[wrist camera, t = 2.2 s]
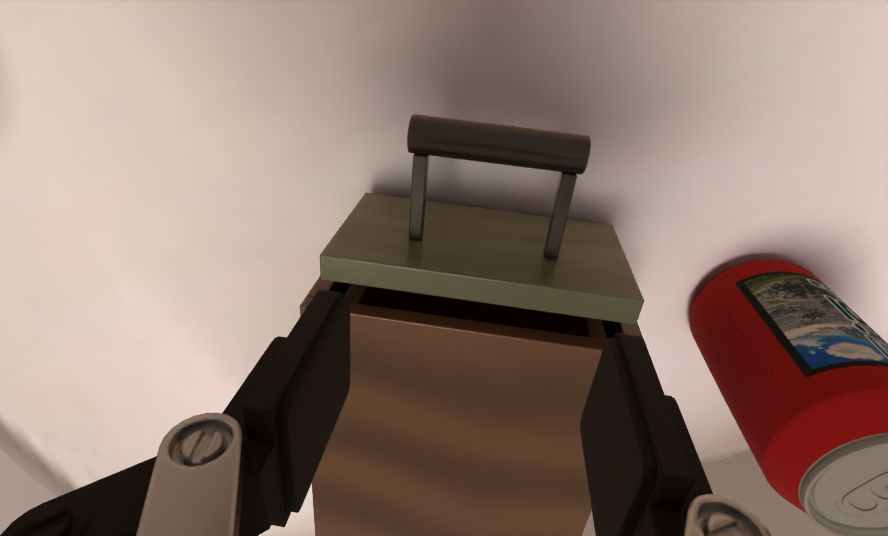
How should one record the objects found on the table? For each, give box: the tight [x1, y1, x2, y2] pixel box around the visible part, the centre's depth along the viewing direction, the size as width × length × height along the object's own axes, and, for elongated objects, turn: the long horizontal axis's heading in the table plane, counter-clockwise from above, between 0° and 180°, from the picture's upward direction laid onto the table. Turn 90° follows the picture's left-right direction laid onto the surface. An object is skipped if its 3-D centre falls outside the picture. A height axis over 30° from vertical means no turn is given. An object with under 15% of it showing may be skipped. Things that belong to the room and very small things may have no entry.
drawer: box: [320, 114, 644, 340], centre depth 25 cm, size 20×13×7 cm, turn 175°
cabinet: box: [300, 276, 642, 536], centre depth 28 cm, size 16×14×9 cm
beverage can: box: [690, 260, 888, 536], centre depth 22 cm, size 7×7×12 cm
